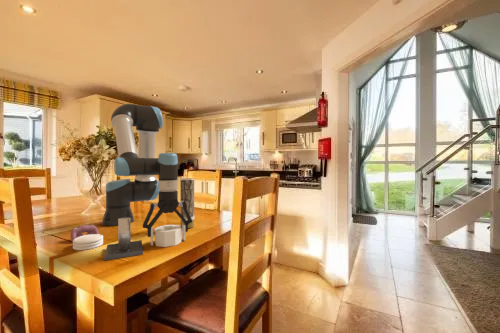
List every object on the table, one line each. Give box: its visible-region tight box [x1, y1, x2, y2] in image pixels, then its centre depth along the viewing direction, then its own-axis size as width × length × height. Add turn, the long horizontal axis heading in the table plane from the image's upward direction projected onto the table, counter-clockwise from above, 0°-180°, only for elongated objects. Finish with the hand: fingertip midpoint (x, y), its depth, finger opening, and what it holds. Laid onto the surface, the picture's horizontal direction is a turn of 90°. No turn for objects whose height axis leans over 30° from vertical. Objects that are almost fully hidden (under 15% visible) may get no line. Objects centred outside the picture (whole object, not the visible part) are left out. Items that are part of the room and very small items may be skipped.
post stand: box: [103, 217, 144, 261], centre depth 87 cm, size 12×12×12 cm
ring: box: [154, 224, 182, 248], centre depth 97 cm, size 10×10×6 cm
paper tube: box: [180, 177, 195, 229], centre depth 119 cm, size 7×7×25 cm
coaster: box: [72, 233, 104, 251], centre depth 93 cm, size 10×10×4 cm
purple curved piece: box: [70, 224, 100, 243], centre depth 101 cm, size 10×5×7 cm, turn 135°
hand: (168, 241), depth 97 cm, fingers open, 12 cm apart
